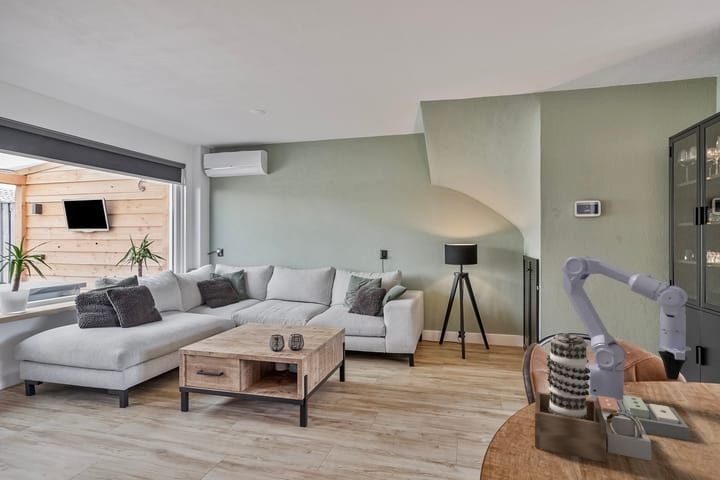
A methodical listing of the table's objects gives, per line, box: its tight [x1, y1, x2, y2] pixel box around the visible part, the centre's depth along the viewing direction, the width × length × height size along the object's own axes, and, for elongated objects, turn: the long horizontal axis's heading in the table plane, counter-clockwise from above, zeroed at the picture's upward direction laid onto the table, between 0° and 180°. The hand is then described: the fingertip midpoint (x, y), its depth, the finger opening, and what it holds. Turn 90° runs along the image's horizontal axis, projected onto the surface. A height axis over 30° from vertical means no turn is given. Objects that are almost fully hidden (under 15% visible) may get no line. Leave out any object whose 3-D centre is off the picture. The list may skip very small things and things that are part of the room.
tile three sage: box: [623, 394, 649, 419], centre depth 104 cm, size 4×9×3 cm, turn 155°
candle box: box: [534, 391, 607, 463], centre depth 94 cm, size 14×14×8 cm
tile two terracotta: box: [598, 396, 620, 413], centre depth 107 cm, size 4×9×3 cm, turn 155°
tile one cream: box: [649, 403, 679, 424], centre depth 102 cm, size 4×9×3 cm, turn 155°
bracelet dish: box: [603, 414, 652, 462], centre depth 93 cm, size 8×12×4 cm, turn 155°
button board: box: [590, 395, 690, 441], centre depth 104 cm, size 19×13×3 cm, turn 65°
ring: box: [607, 408, 642, 438], centre depth 93 cm, size 7×3×8 cm, turn 31°
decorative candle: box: [546, 332, 590, 420], centre depth 94 cm, size 9×9×25 cm
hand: (671, 378), depth 110 cm, fingers closed
